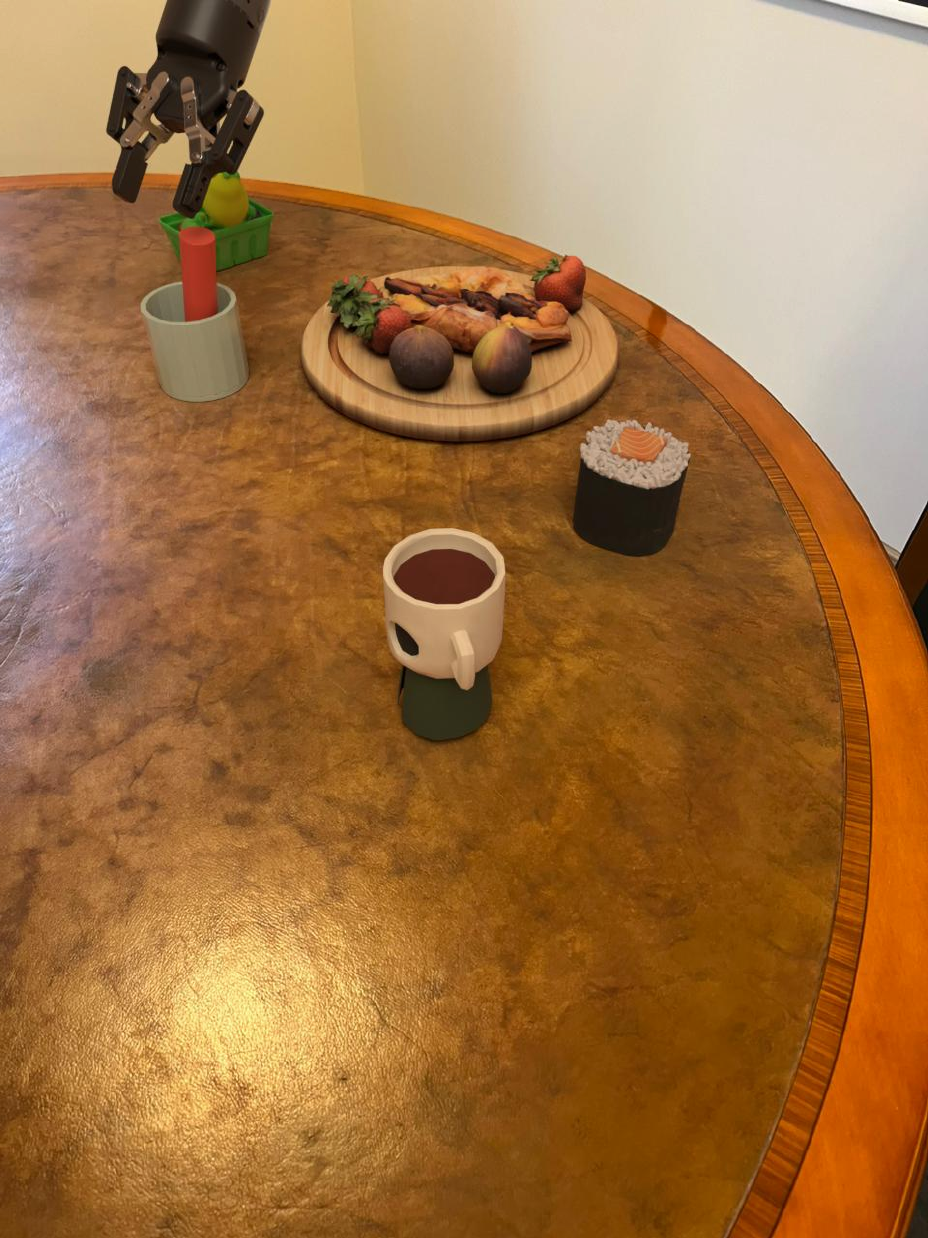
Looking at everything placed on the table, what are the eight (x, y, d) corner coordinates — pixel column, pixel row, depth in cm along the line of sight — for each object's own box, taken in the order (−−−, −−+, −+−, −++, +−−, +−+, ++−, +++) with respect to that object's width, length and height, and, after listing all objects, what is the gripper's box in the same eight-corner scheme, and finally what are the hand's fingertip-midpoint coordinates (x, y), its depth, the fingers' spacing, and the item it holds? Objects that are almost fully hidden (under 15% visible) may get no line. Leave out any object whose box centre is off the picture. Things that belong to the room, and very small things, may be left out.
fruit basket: (246, 234, 115) (231, 136, 107) (288, 258, 110) (275, 158, 102) (164, 261, 109) (141, 160, 101) (204, 288, 105) (184, 184, 97)
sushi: (592, 482, 80) (603, 402, 75) (686, 509, 78) (705, 429, 72) (557, 536, 75) (566, 455, 69) (656, 568, 73) (674, 486, 67)
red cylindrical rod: (185, 376, 90) (175, 240, 79) (191, 358, 92) (183, 223, 81) (216, 381, 90) (211, 247, 79) (222, 363, 92) (218, 229, 81)
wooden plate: (547, 268, 109) (552, 196, 103) (673, 413, 88) (689, 333, 82) (275, 307, 102) (264, 231, 96) (342, 475, 80) (333, 392, 75)
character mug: (376, 660, 66) (364, 517, 56) (474, 642, 67) (478, 499, 58) (411, 786, 58) (404, 645, 49) (519, 762, 60) (532, 621, 50)
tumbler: (150, 401, 88) (129, 323, 83) (171, 354, 94) (153, 279, 89) (240, 403, 88) (225, 325, 83) (256, 356, 94) (243, 280, 89)
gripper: (120, -33, 76) (55, 167, 77) (263, -12, 71) (193, 202, 72) (177, 27, 83) (117, 210, 84) (310, 50, 78) (245, 243, 79)
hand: (152, 205), depth 78 cm, fingers open, 6 cm apart
